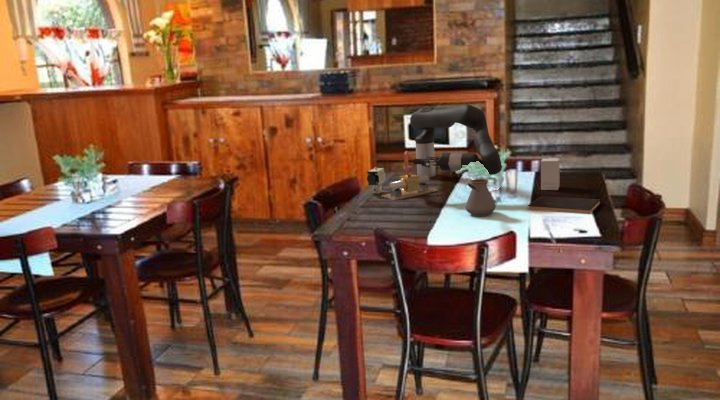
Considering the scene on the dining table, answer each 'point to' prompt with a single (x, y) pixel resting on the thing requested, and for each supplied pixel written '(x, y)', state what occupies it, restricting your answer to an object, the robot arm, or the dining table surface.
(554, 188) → the supplement box
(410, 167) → the lever
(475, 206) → the coffee pot
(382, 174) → the pneumatic valve
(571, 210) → the hardcover book
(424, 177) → the valve body
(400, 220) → the dining table surface
